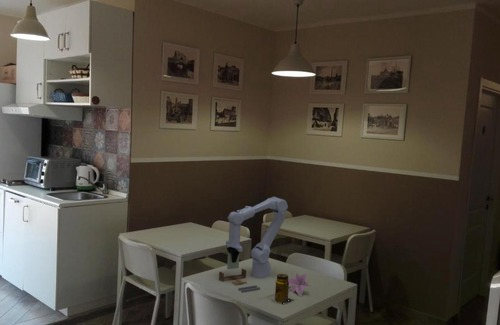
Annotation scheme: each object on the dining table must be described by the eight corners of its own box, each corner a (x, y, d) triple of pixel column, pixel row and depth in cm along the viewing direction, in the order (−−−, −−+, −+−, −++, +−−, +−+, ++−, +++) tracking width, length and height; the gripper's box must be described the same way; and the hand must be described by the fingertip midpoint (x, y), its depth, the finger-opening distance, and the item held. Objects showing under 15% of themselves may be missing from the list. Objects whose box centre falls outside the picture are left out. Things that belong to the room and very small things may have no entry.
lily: (283, 290, 226) (281, 276, 221) (302, 278, 231) (300, 265, 226) (297, 305, 217) (295, 291, 212) (316, 293, 222) (315, 279, 216)
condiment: (271, 300, 209) (272, 275, 208) (281, 295, 216) (283, 271, 215) (283, 305, 205) (285, 279, 204) (294, 300, 211) (295, 275, 210)
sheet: (237, 267, 233) (238, 252, 233) (238, 267, 232) (239, 252, 232) (227, 268, 230) (227, 253, 230) (228, 269, 229) (228, 253, 229)
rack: (241, 277, 238) (241, 267, 238) (254, 286, 226) (255, 275, 226) (217, 281, 231) (217, 270, 231) (229, 290, 219) (230, 279, 219)
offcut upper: (241, 280, 229) (241, 278, 229) (246, 283, 226) (246, 281, 226) (231, 282, 226) (231, 280, 226) (237, 285, 222) (237, 283, 222)
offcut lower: (242, 282, 230) (242, 280, 230) (247, 285, 225) (247, 283, 225) (230, 284, 226) (230, 282, 226) (235, 287, 222) (235, 285, 222)
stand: (255, 288, 224) (255, 283, 224) (264, 293, 217) (264, 288, 217) (234, 291, 218) (234, 286, 217) (242, 297, 211) (242, 292, 211)
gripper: (221, 233, 234) (219, 258, 235) (234, 239, 222) (232, 266, 223) (233, 232, 238) (231, 257, 239) (246, 238, 225) (245, 265, 226)
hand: (233, 261), depth 231 cm, fingers closed on sheet, 1 cm apart
